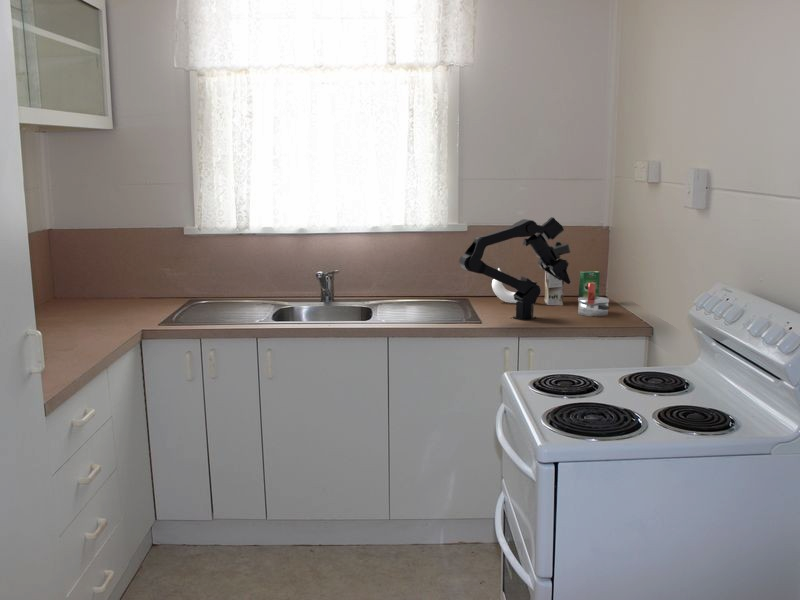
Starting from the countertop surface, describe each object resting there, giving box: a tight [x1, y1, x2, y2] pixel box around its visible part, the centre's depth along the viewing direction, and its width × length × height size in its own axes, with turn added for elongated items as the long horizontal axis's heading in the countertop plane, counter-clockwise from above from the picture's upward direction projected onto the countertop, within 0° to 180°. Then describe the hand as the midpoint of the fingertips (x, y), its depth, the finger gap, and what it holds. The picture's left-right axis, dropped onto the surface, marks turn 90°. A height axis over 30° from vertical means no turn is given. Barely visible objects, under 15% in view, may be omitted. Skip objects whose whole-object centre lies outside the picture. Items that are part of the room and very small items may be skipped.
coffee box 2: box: [578, 270, 601, 298], centre depth 330 cm, size 8×3×13 cm, turn 109°
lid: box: [577, 283, 610, 304], centre depth 307 cm, size 15×12×8 cm
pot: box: [577, 302, 610, 318], centre depth 310 cm, size 16×11×4 cm
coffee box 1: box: [544, 271, 565, 306], centre depth 330 cm, size 9×6×16 cm
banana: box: [491, 267, 517, 304], centre depth 330 cm, size 5×19×15 cm, turn 83°
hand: (565, 281), depth 302 cm, fingers open, 9 cm apart
